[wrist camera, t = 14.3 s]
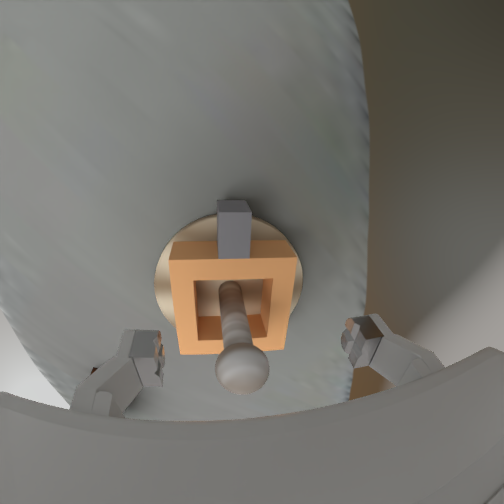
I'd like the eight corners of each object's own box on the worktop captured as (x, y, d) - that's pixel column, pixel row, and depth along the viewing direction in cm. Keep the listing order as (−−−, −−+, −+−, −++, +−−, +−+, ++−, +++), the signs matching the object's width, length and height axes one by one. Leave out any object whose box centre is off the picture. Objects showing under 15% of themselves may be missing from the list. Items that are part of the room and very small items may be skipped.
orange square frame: (275, 326, 32) (283, 349, 28) (182, 330, 30) (180, 354, 27) (289, 201, 26) (302, 213, 22) (171, 201, 24) (165, 213, 20)
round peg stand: (149, 214, 26) (100, 295, 13) (306, 213, 28) (382, 284, 15) (165, 338, 32) (155, 438, 19) (290, 332, 35) (326, 424, 22)
